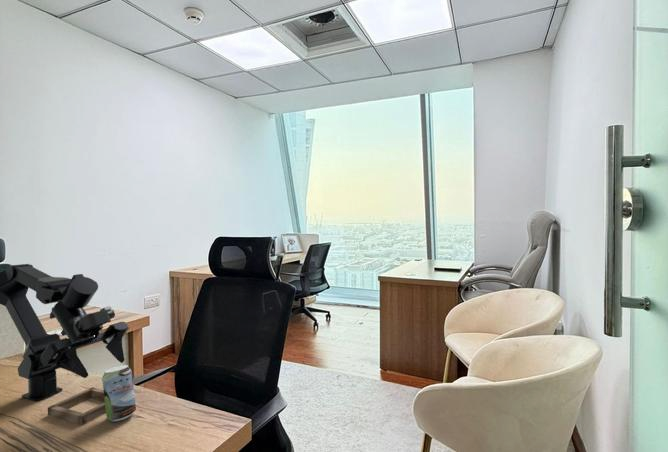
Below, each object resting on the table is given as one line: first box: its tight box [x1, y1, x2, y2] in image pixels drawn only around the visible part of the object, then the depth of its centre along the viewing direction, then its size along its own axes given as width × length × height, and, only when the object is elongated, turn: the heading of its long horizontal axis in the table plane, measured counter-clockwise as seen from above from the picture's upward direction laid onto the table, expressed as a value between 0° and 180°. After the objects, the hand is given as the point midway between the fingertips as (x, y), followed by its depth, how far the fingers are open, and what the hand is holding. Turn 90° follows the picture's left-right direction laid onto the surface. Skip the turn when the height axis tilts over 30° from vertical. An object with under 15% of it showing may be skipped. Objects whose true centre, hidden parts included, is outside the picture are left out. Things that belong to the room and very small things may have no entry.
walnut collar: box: [47, 386, 106, 426], centre depth 87 cm, size 12×11×2 cm
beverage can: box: [101, 364, 137, 422], centre depth 84 cm, size 6×7×12 cm
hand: (105, 368), depth 85 cm, fingers open, 9 cm apart
